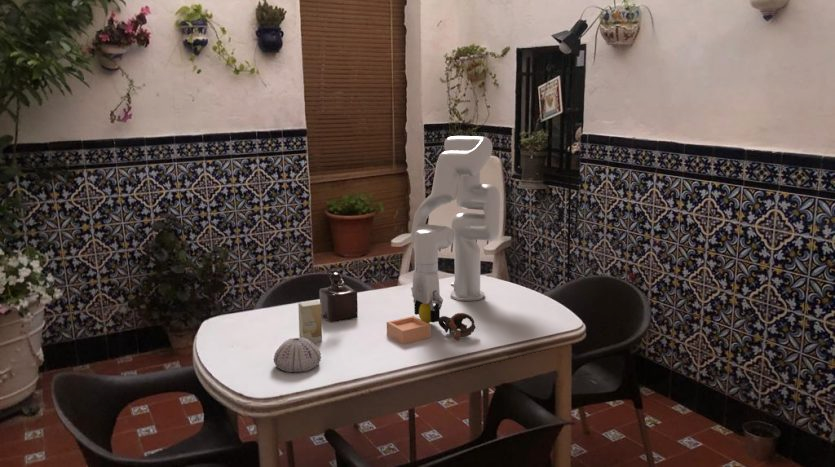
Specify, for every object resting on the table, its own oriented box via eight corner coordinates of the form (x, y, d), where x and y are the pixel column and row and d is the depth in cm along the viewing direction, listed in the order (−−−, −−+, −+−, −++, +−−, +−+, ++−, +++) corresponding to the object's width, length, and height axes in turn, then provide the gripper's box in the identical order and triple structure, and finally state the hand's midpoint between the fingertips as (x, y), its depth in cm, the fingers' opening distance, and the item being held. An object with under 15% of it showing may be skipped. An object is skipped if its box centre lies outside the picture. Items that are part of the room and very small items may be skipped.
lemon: (436, 321, 228) (435, 298, 226) (435, 326, 222) (434, 303, 221) (419, 321, 228) (419, 298, 227) (418, 326, 223) (417, 303, 221)
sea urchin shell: (322, 355, 201) (320, 329, 199) (321, 374, 188) (320, 346, 186) (276, 358, 199) (274, 332, 197) (272, 377, 186) (270, 349, 184)
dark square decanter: (317, 314, 237) (315, 264, 233) (347, 309, 242) (345, 260, 238) (333, 327, 224) (331, 274, 220) (364, 322, 228) (362, 270, 225)
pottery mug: (474, 331, 219) (479, 314, 214) (468, 353, 212) (473, 336, 207) (439, 320, 221) (443, 303, 215) (431, 342, 214) (435, 324, 208)
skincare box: (303, 344, 209) (301, 306, 206) (299, 340, 213) (297, 302, 210) (323, 340, 212) (321, 303, 209) (318, 336, 216) (316, 299, 213)
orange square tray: (386, 334, 216) (386, 322, 215) (413, 328, 221) (413, 316, 221) (403, 344, 208) (402, 330, 207) (430, 337, 213) (430, 324, 212)
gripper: (402, 263, 227) (403, 313, 230) (431, 274, 212) (431, 327, 216) (421, 260, 230) (422, 309, 234) (451, 271, 216) (451, 322, 219)
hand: (426, 317), depth 225 cm, fingers open, 9 cm apart
